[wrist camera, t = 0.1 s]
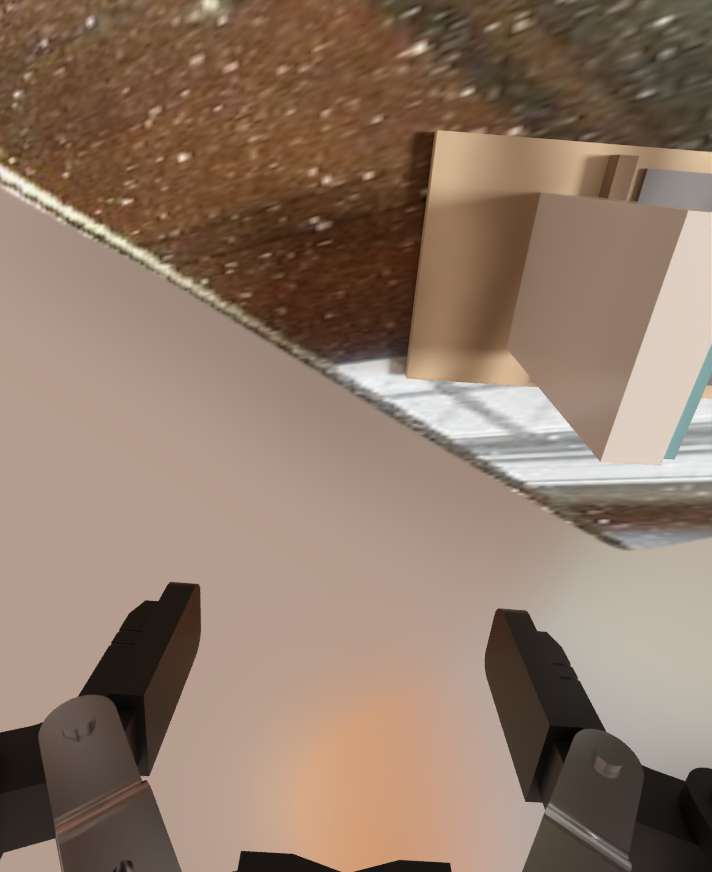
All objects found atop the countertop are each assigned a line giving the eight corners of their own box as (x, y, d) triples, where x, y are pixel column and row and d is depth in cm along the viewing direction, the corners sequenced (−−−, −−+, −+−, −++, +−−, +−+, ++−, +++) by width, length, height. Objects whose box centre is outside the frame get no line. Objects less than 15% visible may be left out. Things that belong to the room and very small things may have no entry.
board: (405, 372, 34) (408, 385, 32) (434, 131, 27) (440, 128, 25) (722, 393, 34) (744, 407, 32) (826, 162, 28) (862, 162, 26)
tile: (506, 348, 32) (600, 461, 19) (540, 192, 28) (688, 210, 15) (552, 351, 32) (675, 466, 20) (593, 196, 28) (783, 217, 15)
